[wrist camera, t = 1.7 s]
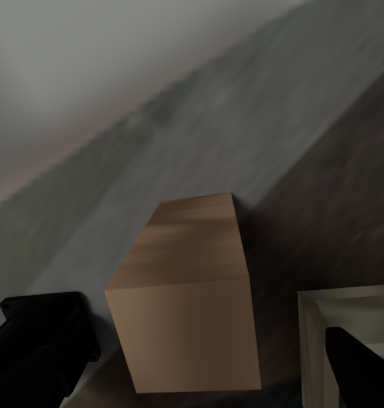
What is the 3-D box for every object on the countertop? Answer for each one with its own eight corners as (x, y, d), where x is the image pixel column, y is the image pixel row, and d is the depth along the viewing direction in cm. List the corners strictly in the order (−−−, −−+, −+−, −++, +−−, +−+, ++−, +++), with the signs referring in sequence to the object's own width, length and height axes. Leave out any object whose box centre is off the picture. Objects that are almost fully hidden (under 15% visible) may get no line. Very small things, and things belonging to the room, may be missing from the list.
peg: (173, 262, 18) (136, 393, 9) (160, 201, 16) (104, 291, 8) (238, 255, 17) (261, 389, 9) (230, 192, 16) (249, 278, 7)
